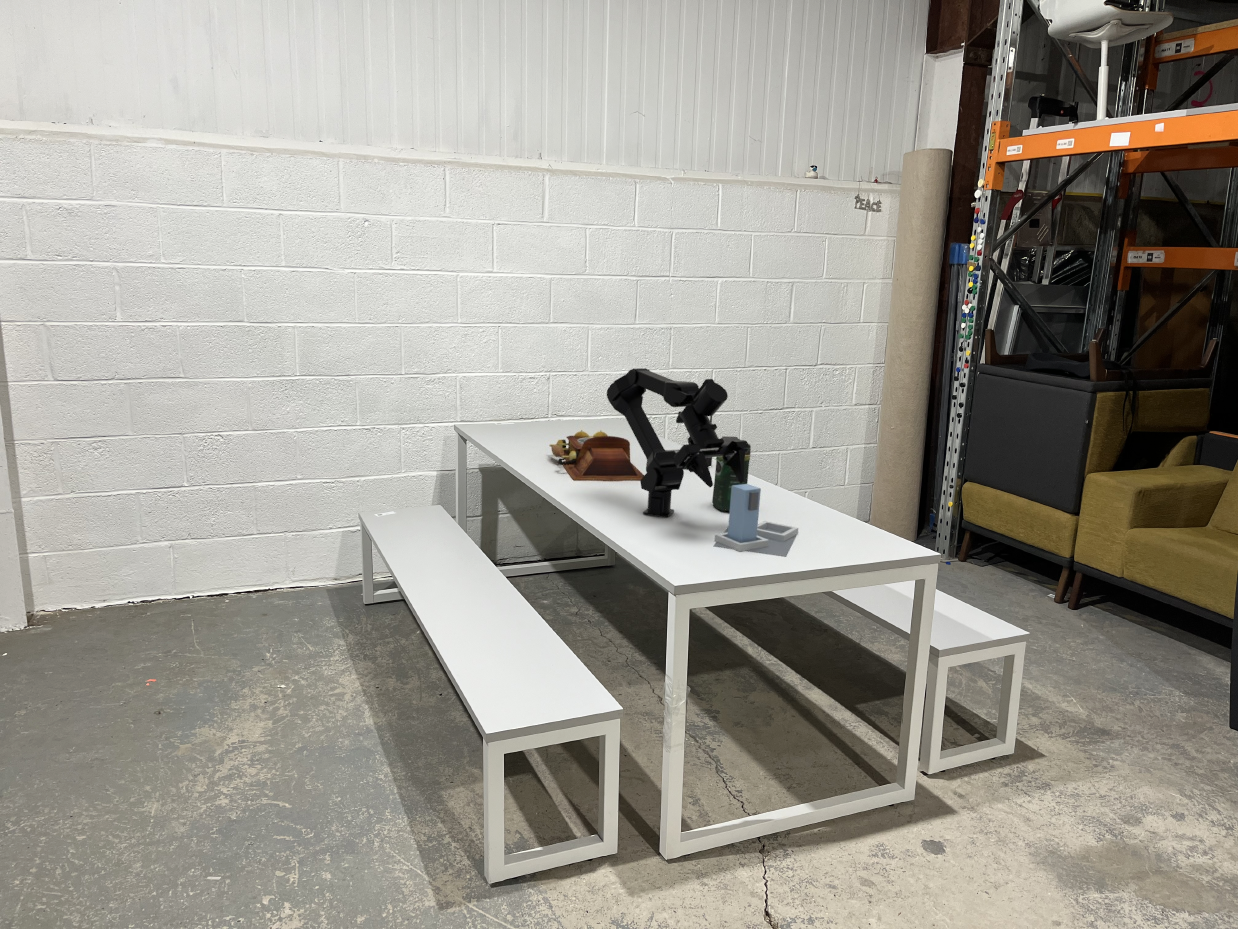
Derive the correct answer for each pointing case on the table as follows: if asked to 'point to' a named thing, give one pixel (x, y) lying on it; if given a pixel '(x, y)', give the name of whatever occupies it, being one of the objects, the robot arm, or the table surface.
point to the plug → (744, 513)
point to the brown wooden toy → (596, 458)
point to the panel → (772, 546)
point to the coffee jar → (727, 478)
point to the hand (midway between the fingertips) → (727, 484)
